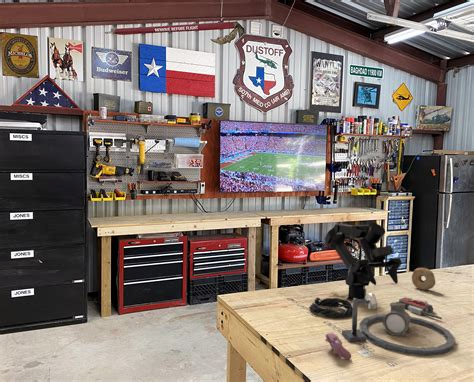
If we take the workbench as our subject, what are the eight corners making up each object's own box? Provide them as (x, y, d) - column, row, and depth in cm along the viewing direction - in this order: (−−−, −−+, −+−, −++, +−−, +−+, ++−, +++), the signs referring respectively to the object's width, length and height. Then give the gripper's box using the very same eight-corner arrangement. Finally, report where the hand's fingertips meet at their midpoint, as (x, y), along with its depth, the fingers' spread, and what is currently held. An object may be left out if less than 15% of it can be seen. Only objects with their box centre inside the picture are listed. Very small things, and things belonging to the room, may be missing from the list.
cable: (358, 312, 165) (359, 302, 165) (344, 323, 154) (345, 312, 153) (319, 302, 175) (319, 292, 175) (303, 312, 164) (303, 301, 164)
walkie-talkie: (392, 307, 172) (440, 323, 156) (392, 296, 172) (440, 311, 156) (404, 302, 177) (451, 317, 161) (404, 292, 177) (452, 306, 161)
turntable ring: (349, 339, 139) (349, 335, 139) (371, 312, 165) (372, 308, 165) (449, 364, 124) (449, 359, 123) (457, 330, 149) (457, 325, 149)
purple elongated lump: (329, 350, 135) (320, 331, 134) (342, 344, 135) (333, 325, 134) (339, 365, 125) (330, 345, 124) (353, 358, 125) (343, 338, 124)
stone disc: (409, 287, 198) (410, 266, 197) (412, 285, 201) (414, 265, 200) (432, 292, 191) (434, 271, 190) (435, 291, 194) (436, 269, 193)
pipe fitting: (407, 338, 140) (406, 307, 141) (382, 334, 145) (382, 304, 145) (415, 330, 150) (414, 301, 151) (392, 327, 155) (391, 299, 155)
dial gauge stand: (349, 342, 137) (351, 297, 136) (341, 334, 143) (343, 291, 142) (375, 340, 139) (377, 296, 138) (366, 333, 145) (368, 290, 144)
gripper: (357, 239, 161) (373, 273, 151) (399, 237, 166) (417, 271, 156) (347, 255, 169) (361, 289, 159) (387, 254, 174) (404, 286, 163)
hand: (386, 283), depth 159 cm, fingers open, 9 cm apart
